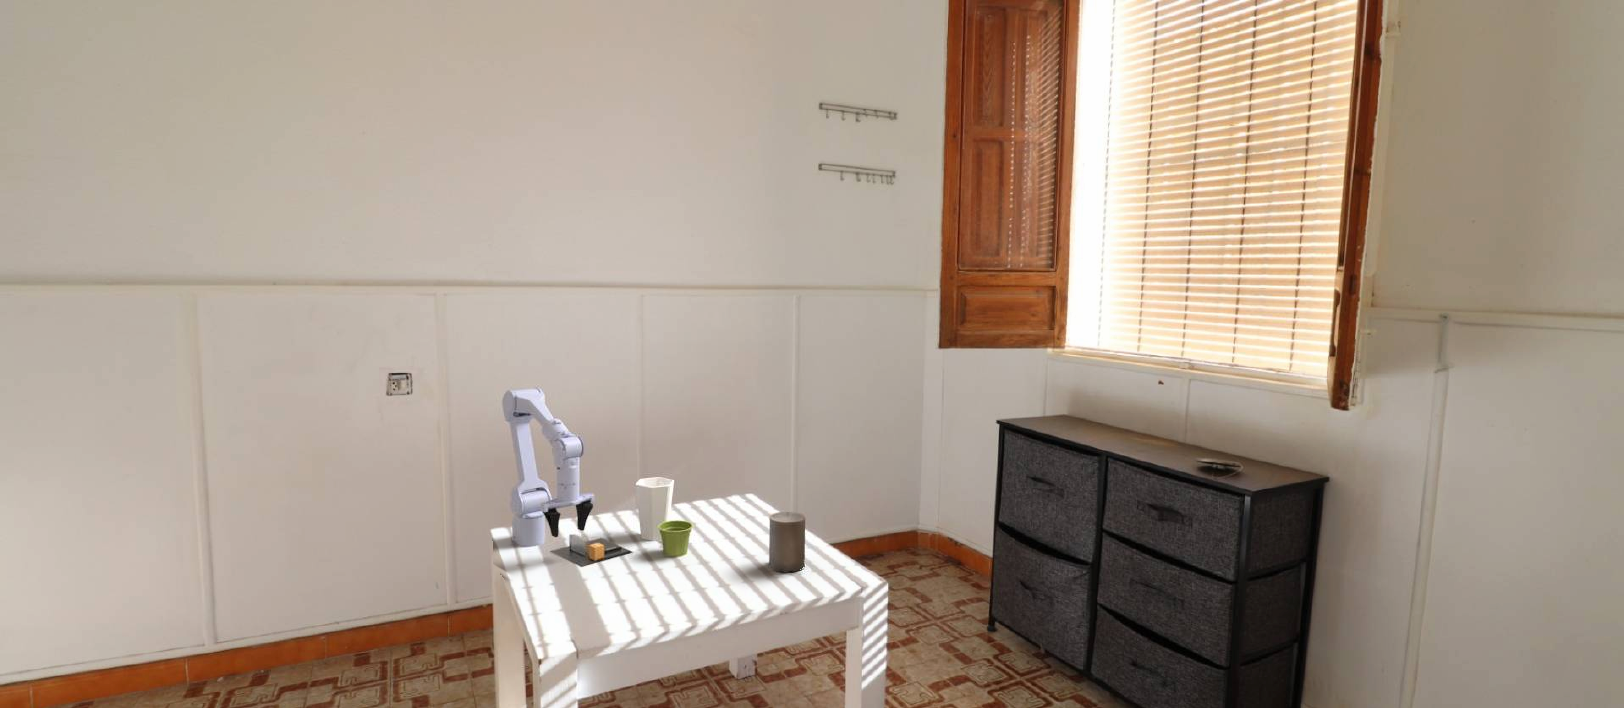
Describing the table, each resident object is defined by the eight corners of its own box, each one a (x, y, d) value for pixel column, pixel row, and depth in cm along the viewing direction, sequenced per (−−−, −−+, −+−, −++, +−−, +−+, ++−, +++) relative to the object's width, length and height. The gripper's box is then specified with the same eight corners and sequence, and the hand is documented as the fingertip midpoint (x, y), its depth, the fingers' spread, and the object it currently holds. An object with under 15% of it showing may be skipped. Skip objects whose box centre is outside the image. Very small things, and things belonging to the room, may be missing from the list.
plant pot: (685, 564, 212) (685, 532, 211) (652, 560, 214) (652, 529, 213) (697, 552, 221) (697, 522, 220) (665, 549, 223) (665, 519, 222)
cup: (680, 538, 232) (681, 481, 230) (656, 548, 223) (656, 489, 221) (652, 531, 238) (652, 475, 236) (627, 540, 229) (628, 482, 227)
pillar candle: (812, 566, 212) (813, 511, 211) (786, 575, 205) (787, 519, 204) (786, 557, 219) (787, 504, 218) (760, 566, 212) (761, 511, 211)
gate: (571, 549, 217) (571, 535, 216) (574, 548, 217) (574, 534, 217) (585, 555, 212) (585, 541, 212) (588, 554, 213) (588, 540, 212)
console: (549, 554, 216) (549, 536, 215) (601, 541, 228) (601, 524, 227) (581, 570, 205) (581, 551, 205) (633, 555, 217) (633, 537, 216)
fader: (589, 557, 211) (589, 544, 211) (598, 555, 213) (598, 542, 213) (594, 560, 209) (594, 547, 209) (604, 558, 211) (604, 544, 211)
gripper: (550, 490, 199) (550, 543, 201) (600, 480, 210) (600, 530, 211) (536, 484, 204) (536, 536, 205) (586, 475, 215) (586, 524, 216)
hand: (568, 532), depth 209 cm, fingers open, 7 cm apart
